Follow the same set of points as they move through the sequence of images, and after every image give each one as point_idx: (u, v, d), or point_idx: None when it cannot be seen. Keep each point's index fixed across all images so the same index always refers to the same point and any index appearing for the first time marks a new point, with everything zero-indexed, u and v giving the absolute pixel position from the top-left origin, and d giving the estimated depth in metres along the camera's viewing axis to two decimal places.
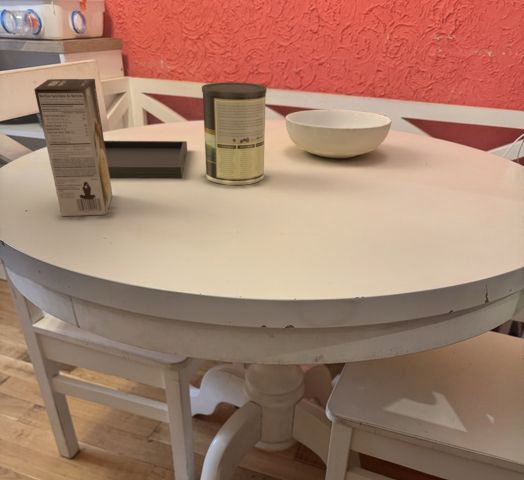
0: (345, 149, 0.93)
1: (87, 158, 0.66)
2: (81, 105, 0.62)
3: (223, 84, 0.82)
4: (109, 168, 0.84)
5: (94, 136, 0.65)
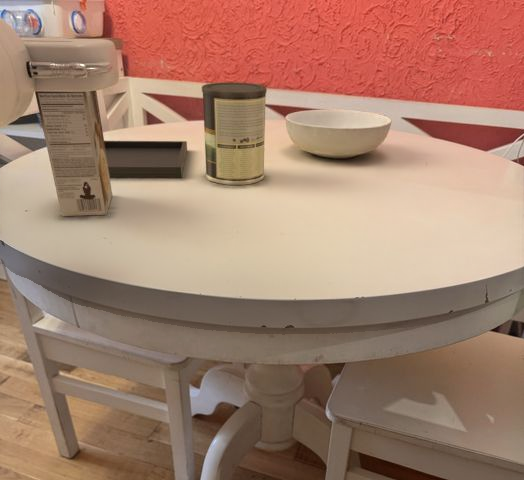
0: (345, 149, 0.93)
1: (87, 158, 0.66)
2: (81, 105, 0.62)
3: (223, 84, 0.82)
4: (109, 168, 0.84)
5: (94, 136, 0.65)
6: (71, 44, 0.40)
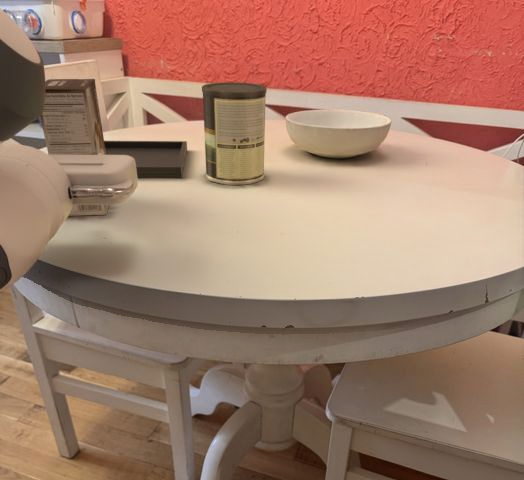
0: (345, 149, 0.93)
1: None
2: (81, 105, 0.62)
3: (223, 84, 0.82)
4: None
5: (94, 136, 0.65)
6: (102, 171, 0.51)
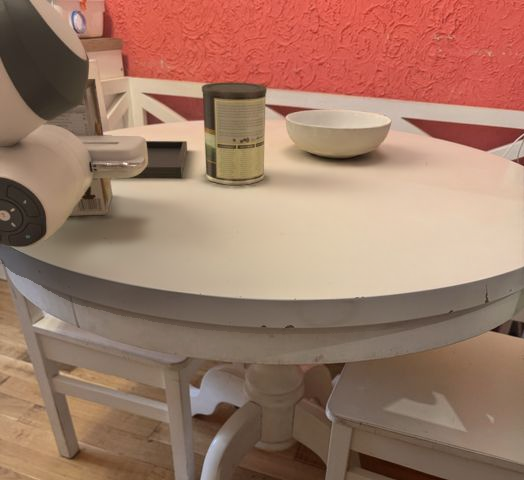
0: (345, 149, 0.93)
1: None
2: (81, 105, 0.62)
3: (223, 84, 0.82)
4: None
5: None
6: (119, 148, 0.59)
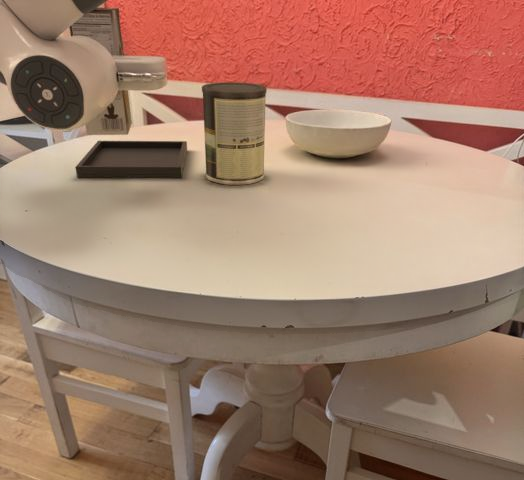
0: (345, 149, 0.93)
1: None
2: (108, 25, 0.68)
3: (223, 84, 0.82)
4: (109, 168, 0.84)
5: None
6: (142, 61, 0.65)
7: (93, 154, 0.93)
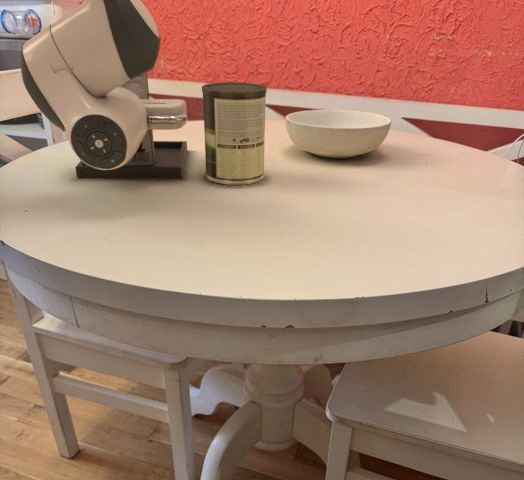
0: (345, 149, 0.93)
1: None
2: (139, 77, 0.82)
3: (223, 84, 0.82)
4: None
5: None
6: (168, 106, 0.79)
7: None
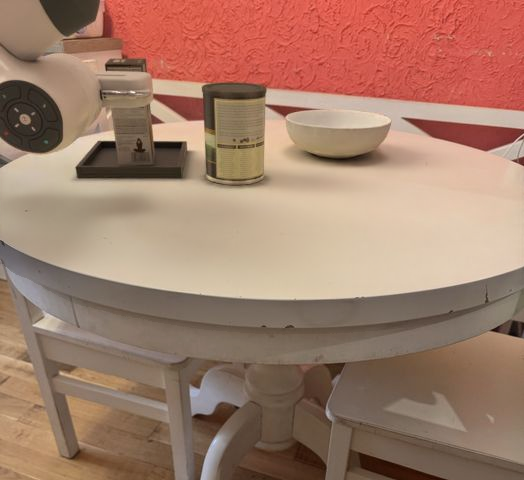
0: (345, 149, 0.93)
1: (141, 119, 0.85)
2: None
3: (223, 84, 0.82)
4: (109, 168, 0.84)
5: None
6: (127, 78, 0.64)
7: (93, 154, 0.93)
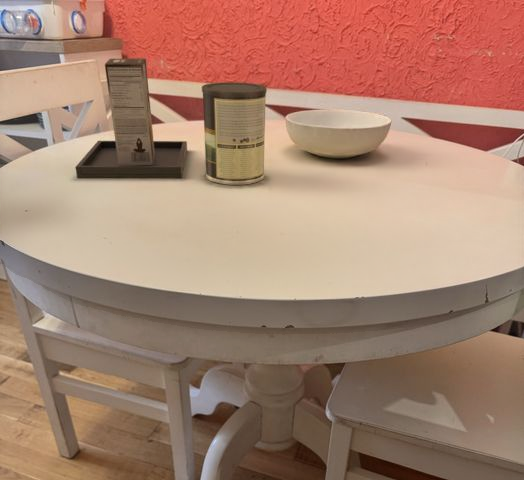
0: (345, 149, 0.93)
1: (141, 119, 0.85)
2: (139, 77, 0.81)
3: (223, 84, 0.82)
4: (109, 168, 0.84)
5: (147, 102, 0.84)
6: None
7: (93, 154, 0.93)
